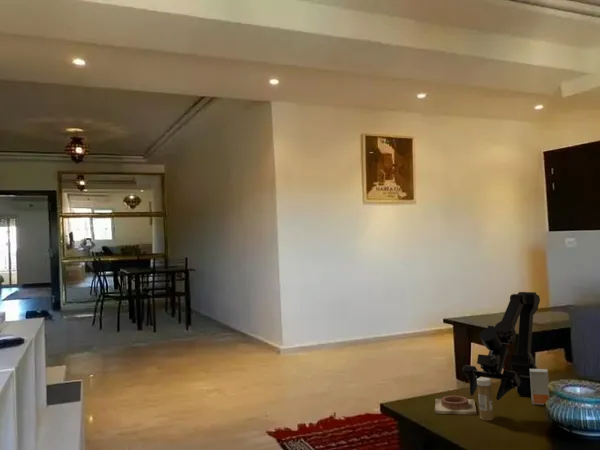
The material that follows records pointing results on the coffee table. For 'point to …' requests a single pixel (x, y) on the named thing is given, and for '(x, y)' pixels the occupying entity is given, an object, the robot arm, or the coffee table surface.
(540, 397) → the skincare box
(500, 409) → the coffee table surface
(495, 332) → the robot arm
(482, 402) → the sprinkles bottle
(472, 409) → the collar base
